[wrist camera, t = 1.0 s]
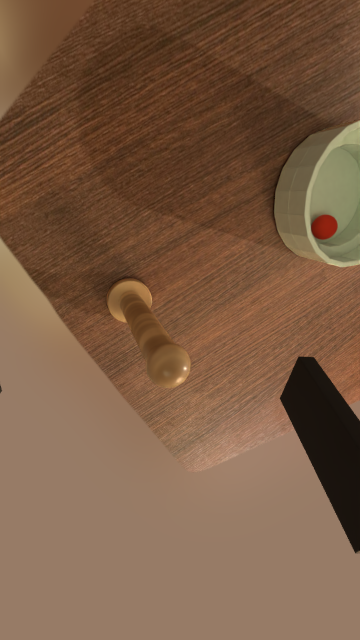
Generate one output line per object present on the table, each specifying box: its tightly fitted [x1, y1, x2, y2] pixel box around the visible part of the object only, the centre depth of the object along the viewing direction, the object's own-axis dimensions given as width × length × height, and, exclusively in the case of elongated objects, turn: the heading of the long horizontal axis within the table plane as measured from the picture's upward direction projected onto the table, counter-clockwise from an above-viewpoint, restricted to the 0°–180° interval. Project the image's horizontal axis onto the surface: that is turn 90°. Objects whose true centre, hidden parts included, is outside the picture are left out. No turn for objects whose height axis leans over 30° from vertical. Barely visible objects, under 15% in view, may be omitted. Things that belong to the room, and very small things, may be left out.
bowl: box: [274, 119, 360, 267], centre depth 36 cm, size 15×15×6 cm
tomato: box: [311, 215, 338, 240], centre depth 38 cm, size 3×3×3 cm
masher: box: [107, 278, 191, 388], centre depth 28 cm, size 5×5×17 cm
